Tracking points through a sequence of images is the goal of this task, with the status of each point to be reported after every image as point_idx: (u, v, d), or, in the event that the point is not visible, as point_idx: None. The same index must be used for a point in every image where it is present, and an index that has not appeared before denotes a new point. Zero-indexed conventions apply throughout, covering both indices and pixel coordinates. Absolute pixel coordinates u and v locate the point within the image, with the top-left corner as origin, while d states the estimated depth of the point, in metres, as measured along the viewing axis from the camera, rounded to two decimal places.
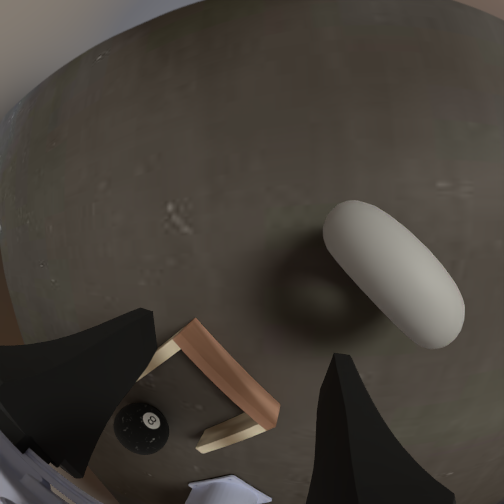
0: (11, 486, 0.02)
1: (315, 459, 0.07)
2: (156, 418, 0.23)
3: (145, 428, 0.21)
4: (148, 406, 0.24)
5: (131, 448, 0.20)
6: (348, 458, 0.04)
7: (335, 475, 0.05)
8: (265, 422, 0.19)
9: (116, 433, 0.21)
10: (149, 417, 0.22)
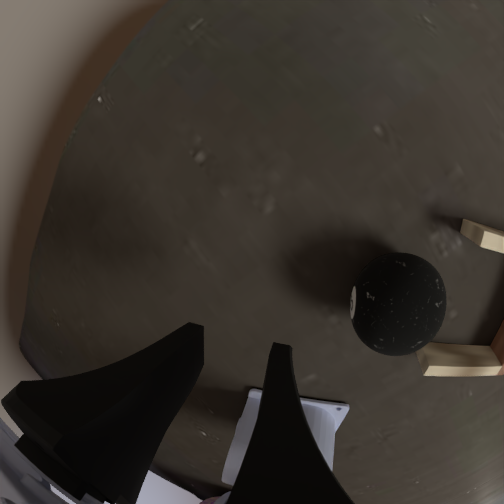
0: (11, 486, 0.02)
1: None
2: None
3: None
4: None
5: (408, 340, 0.12)
6: (249, 444, 0.05)
7: None
8: None
9: (410, 300, 0.12)
10: None
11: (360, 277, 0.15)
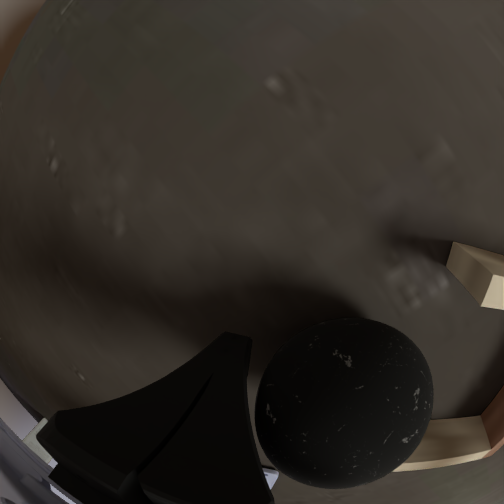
0: (11, 486, 0.02)
1: None
2: None
3: None
4: None
5: (338, 485, 0.05)
6: None
7: None
8: (495, 448, 0.07)
9: (343, 441, 0.05)
10: None
11: (270, 364, 0.08)
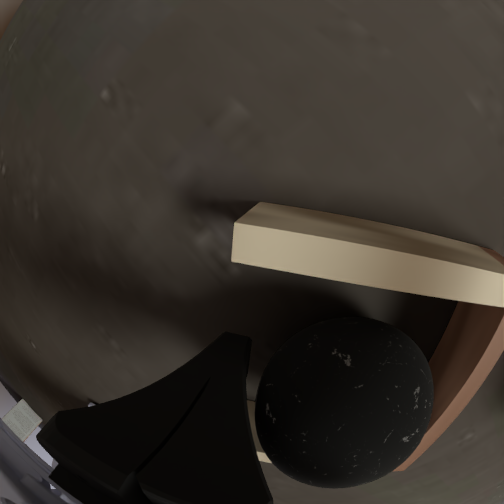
0: (11, 486, 0.02)
1: None
2: None
3: None
4: None
5: (338, 485, 0.05)
6: None
7: None
8: (405, 463, 0.09)
9: (343, 440, 0.05)
10: None
11: (269, 364, 0.08)
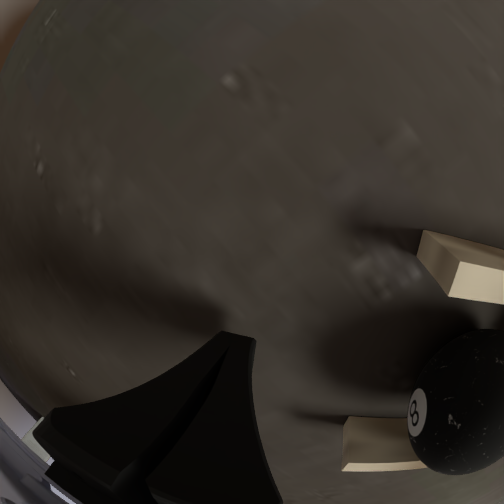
0: (11, 486, 0.02)
1: None
2: None
3: None
4: None
5: (486, 465, 0.04)
6: None
7: None
8: None
9: None
10: None
11: (436, 381, 0.07)
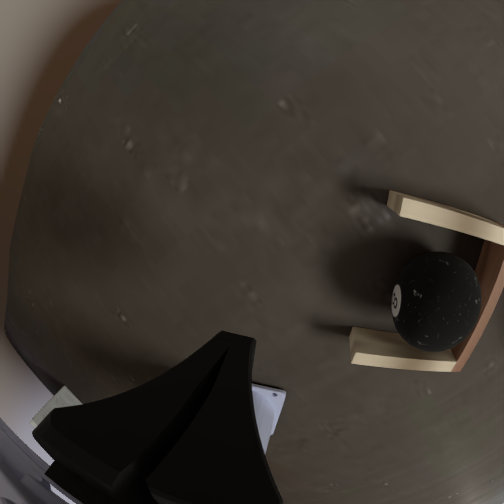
0: (11, 486, 0.02)
1: None
2: None
3: None
4: None
5: (450, 336, 0.11)
6: None
7: None
8: (461, 363, 0.15)
9: (454, 297, 0.11)
10: None
11: (404, 275, 0.14)
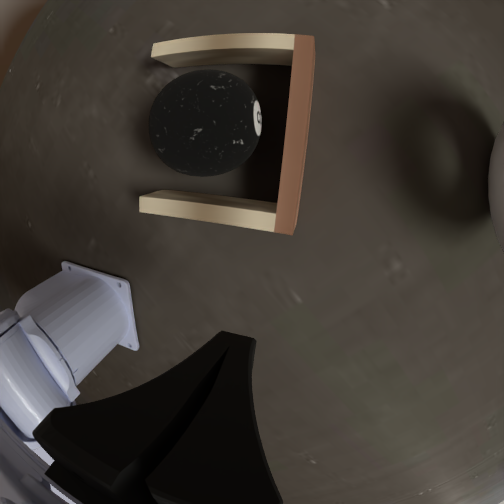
0: (11, 486, 0.02)
1: None
2: (261, 124, 0.14)
3: (250, 116, 0.12)
4: None
5: (180, 127, 0.11)
6: None
7: None
8: (287, 218, 0.14)
9: (177, 86, 0.11)
10: (259, 111, 0.13)
11: None
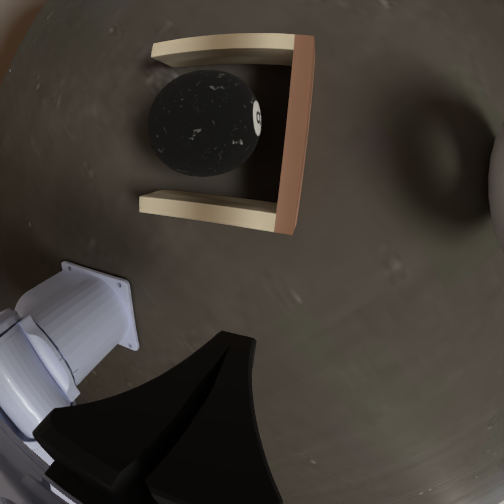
0: (11, 486, 0.02)
1: None
2: None
3: (249, 116, 0.12)
4: None
5: (179, 127, 0.11)
6: None
7: None
8: (287, 218, 0.14)
9: (176, 87, 0.11)
10: (259, 111, 0.13)
11: None
